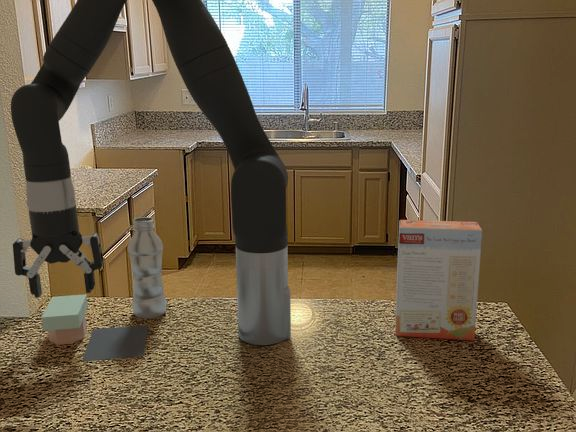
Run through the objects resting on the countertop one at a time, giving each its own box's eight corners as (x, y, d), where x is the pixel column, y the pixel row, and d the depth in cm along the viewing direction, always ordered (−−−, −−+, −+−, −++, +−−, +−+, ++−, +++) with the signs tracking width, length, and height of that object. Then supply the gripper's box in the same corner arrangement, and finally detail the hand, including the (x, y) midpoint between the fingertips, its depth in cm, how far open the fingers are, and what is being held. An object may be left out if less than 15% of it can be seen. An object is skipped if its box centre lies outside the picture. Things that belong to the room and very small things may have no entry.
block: (87, 306, 106) (86, 294, 105) (79, 327, 97) (78, 314, 97) (54, 309, 105) (52, 296, 104) (42, 330, 96) (41, 317, 96)
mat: (148, 329, 106) (148, 324, 106) (144, 361, 95) (144, 355, 95) (93, 334, 105) (93, 329, 104) (82, 367, 93) (81, 361, 93)
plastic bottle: (140, 309, 115) (132, 214, 110) (172, 311, 114) (166, 215, 109) (127, 323, 109) (118, 223, 104) (161, 325, 108) (153, 224, 103)
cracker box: (470, 327, 106) (478, 220, 101) (474, 342, 100) (484, 229, 95) (394, 322, 109) (399, 217, 103) (394, 336, 103) (399, 226, 98)
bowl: (88, 332, 105) (86, 310, 104) (83, 347, 100) (80, 324, 99) (54, 335, 104) (52, 312, 103) (47, 350, 99) (44, 327, 98)
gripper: (99, 197, 100) (108, 282, 104) (13, 202, 98) (26, 289, 102) (92, 207, 93) (103, 298, 97) (0, 212, 91) (15, 306, 95)
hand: (63, 293), depth 100 cm, fingers open, 8 cm apart
